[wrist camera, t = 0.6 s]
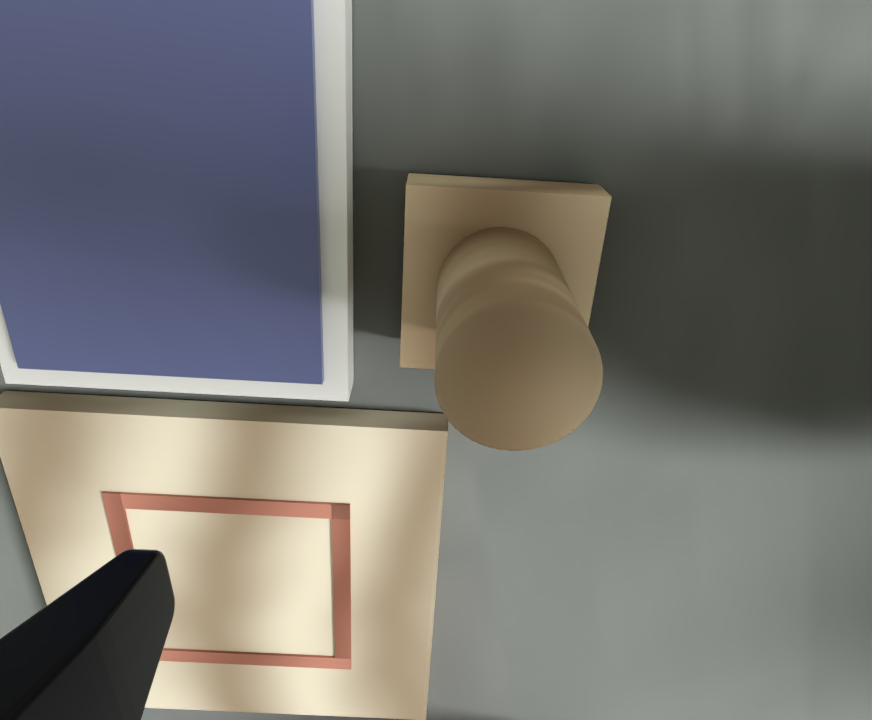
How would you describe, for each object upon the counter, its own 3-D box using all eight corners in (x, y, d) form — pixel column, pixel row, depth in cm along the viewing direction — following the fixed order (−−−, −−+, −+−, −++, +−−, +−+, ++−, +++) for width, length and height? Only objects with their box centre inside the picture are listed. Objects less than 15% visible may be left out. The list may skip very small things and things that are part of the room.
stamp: (596, 181, 17) (678, 263, 11) (568, 348, 19) (624, 492, 13) (409, 170, 17) (390, 247, 11) (403, 339, 19) (384, 479, 13)
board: (447, 413, 20) (447, 433, 19) (426, 697, 27) (425, 722, 26) (4, 390, 20) (-18, 408, 19) (90, 681, 27) (76, 706, 26)
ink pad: (351, -83, 14) (342, -95, 13) (353, 381, 20) (347, 406, 19) (-98, -112, 14) (-154, -127, 13) (29, 364, 20) (-1, 388, 18)
